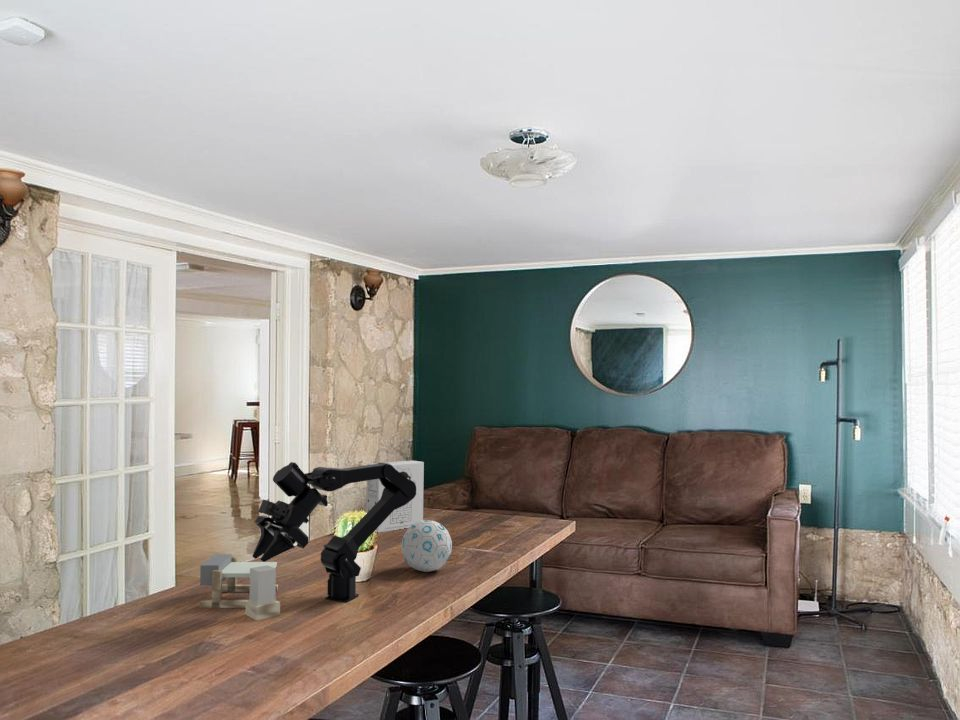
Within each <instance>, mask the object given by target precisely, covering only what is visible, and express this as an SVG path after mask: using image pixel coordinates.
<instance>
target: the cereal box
mask: <svg viewBox="0 0 960 720" xmlns="http://www.w3.org/2000/svg"><path fill="white" fill-rule="evenodd" d="M377 463H378V462H375V463H367V464H366V465H372V464H377ZM384 463H388V464H391V465H392V466H393V467H394V468H395V469H396V470H397V471H398V472H400V473H401V474H402V475H404V476H405V477H406V478H407V479H408V480H411V481H413V482H414V483H415V485H416V496H415V497H414V498H413V499H412V500H411V501H410V502H408V503H407V504H406V505H404V506H402V507H400V508H397V509H395V510H394V511H393V512H392V513H391V514H390V515H389V516H388V517H387V518H386V519H385V520H384V521H383V523H382V524H381V525H380V526H379V527H378V528H377V532H378V533H377V534H379V533H386V532H392V531H393V530H394V531H399V529H401V530H405V529H404V528H407V529H409V527H410V526H412V525H413V524H415V523H417V522H419V521H423V520H424V483H425V482H424V475H425V474H424V473H425V472H424V471H425V468H424V467H425V465H424V464H425V462H424V461H418V460H414V459H413V460H400V461H388V462H384ZM384 488H385V487H384V486H383V485H382V484H381V482H380V480H379V479H374V480H368V481H366V511H365V512H367V513H368V512H369V511H370V510H371V508H372V507H373V506H374V505H375V504H376V503H377V502H378V501H379V500H380V499H381V496H382V493H383V489H384Z"/></svg>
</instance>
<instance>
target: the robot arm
mask: <svg viewBox="0 0 960 720" xmlns="http://www.w3.org/2000/svg"><path fill="white" fill-rule="evenodd" d="M376 463H377V464H373V463H371V464H372V465H367V464H366V465H365V464H364V465H359V466H352V467H345V468H339V467H338V468H337V467H329V466H327V467H325V466H317V467H315V468H313V469H312V470H311V471H310V472H306V473H304V472H303V470H302V469H301V468H300V467H299V465H298V464H297V463H296V462H294V461H290V462H289V463H288V464H287V465H285V466H283V467H282V468H280V469H279V470H277V471H276V472H275V474H274V475H273V478H272V482H273V483H274V484H275V485H276V486H277V487H278V488H279V489H280V490H281V491H282V492H283V493H284V494H285V495H286V496H287V497H293V499H292V500H291V501H290V502H289V503H287V502H284V501H281V500H277V501H276V502H273V501H270V500H266V499H263V500H262V502H261V503H260V506H259V508H258V511H257V512H258V513H260V514H264V515H259V516H258V517H257V518H256V519H255V520H254V521H253V523H254V524H255V525H257V527H258V528H259V530H260V536H259V540H258V543H257V544H256V546H255V549H254V552H253V553H252V557H253V559H255V560H256V559H258V558H259V557H260V556H261V558H260V562H268V560H271V559H273V558H275V557H277V556H278V555H281V554H282V553H284V552H287V551H289V550H291V549H294V548H296V547H295V545H294V544H296V546H297V547H298V548H300V549H305V547H306V546H307V545H308V544H309V541H310V540H309V536H308V535H307V534H306V533H305V532H304V531H303V530H302V529H301V528H300V527H301V526H302V525H303V524H308V523H309V522H310V519H309V518H308V517H309V516H310V515H312V513H313V511H314V510H315V509H316V508H317V506H318V505H319V506H323V507H328V506H329V504H328V495H327V494H322V493H320V491H323V492H324V491H325V492H333V491H337V490H339V489H342V488H344V487H345V486H346V485H349V484H354V483H359V482H367V481H368V480H374V479H379V480H380V482H381V484H382V485H383V486H384V487H385V488H384V489H383V493H382V496H381V499H380V500H379V501H378V502H377V503H376V504H375V505H374V506H373V507H372V508H371V510H370V511H369V512H368V513H367V514H366V513H365V515H364V516H363V517H362V518H361V519H360V520H359V521H358V522H357V523H356V524H355V525H354V526H353V527H352V528H351V530H349V531H348V532H347V534H345V535H344V536H337V535H333V536H332V537H331V539H330V540H329V541H328V543H326V544H324V545H323V547H324V548H323V549H322V551H321V552H320V563H321V565H322V566H323V567H324V569H325V571H326V573H327V574H328V573H329V574H328V579H327V586H326V587H327V589H326V590H327V591H326V593H327V596H326V597H325V598H324V599H325V600H328V601H333V602H334V601H335V602H344V603H347V602H349V601H352V600H354V599H355V598H357V597H359V595H360V594H359V593H356V591H357V589H356V588H357V587H356V584H357V581H356V579H357V577H358V576H359V575H360V572H361V569H362V568H361V566H360V565H358V563H357V562H356V561H355V560H356V558H357V557H358V553H359V549H360V547H361V546H362V545H363V544H364V543H365V542H366V541H367V540H368V539H369V538H370V536H371V535H373V533H375V532H374V531H375V530H376V529H377V528H378V527H379V526H380V525H381V524H382V523H383V521H384V520H385V519H386V518H387V517H388V516H389V515H390V514H391V513H392V512H393V511H394V510H395V509H397V508H400V507H402V506H404V505H406V504H407V503H408V502H410V501H411V500H412V499H413V498H414V497H415V496H416V485H415V483H414V482H413V481H411V480H408V479H407V478H406V477H405V476H404V475H402V474H401V473H400V472H398V471H397V470H396V469H395V468H394V467H393V466H392V465H391V464H388V463H385V462H376ZM309 485H311V487H310V486H309ZM319 490H320V491H319Z"/></svg>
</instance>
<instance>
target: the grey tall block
mask: <svg viewBox="0 0 960 720" xmlns="http://www.w3.org/2000/svg"><path fill="white" fill-rule="evenodd" d="M276 575H277V568H276V567H275V568H272V567H270V566H268V565H267V566H260V567H254V568H250V577H249V584H250V592H249V597H248V598H249V599H248V600H249V602H251V603H253V604H255V605H257V606H259V605H264V604H269V603H274V602H275V600H276V592H275V591H276V584H277V583H276V581H277V576H276Z"/></svg>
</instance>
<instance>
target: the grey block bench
mask: <svg viewBox="0 0 960 720" xmlns="http://www.w3.org/2000/svg"><path fill="white" fill-rule="evenodd" d="M232 562H238V556H232ZM278 591H279V584H277V583H276V591H275V593H276V592H278ZM225 592H226V593H227V592H228V593H239V592H240V593H245V592H246V593H247V592H248V593H250V583H249V584H248V583H247V584H245V583H244V584H243V583H242V584H238V577H227V584H223V582H222V570H213V571H212V585H211V599H201V600H199V601H198V602H199V603H198V604H199V605H198V606H199V607H198V608H199V609H218V608H219V609H221V608H222V609H233V608H234V609H239V608H240V609H244V608H245V607H246V601H249V599H223V598H222V596H223V595H222V594H223V593H225Z"/></svg>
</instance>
